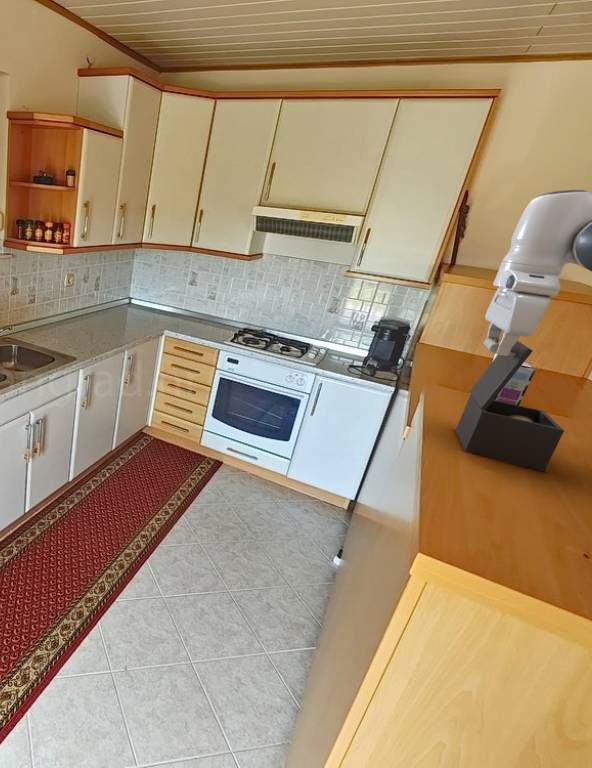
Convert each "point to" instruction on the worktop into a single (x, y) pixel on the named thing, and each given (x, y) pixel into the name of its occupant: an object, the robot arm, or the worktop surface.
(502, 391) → the candy bar box
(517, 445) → the grey hinged lid box
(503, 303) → the robot arm
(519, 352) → the grey lid with handle
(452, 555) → the worktop surface
